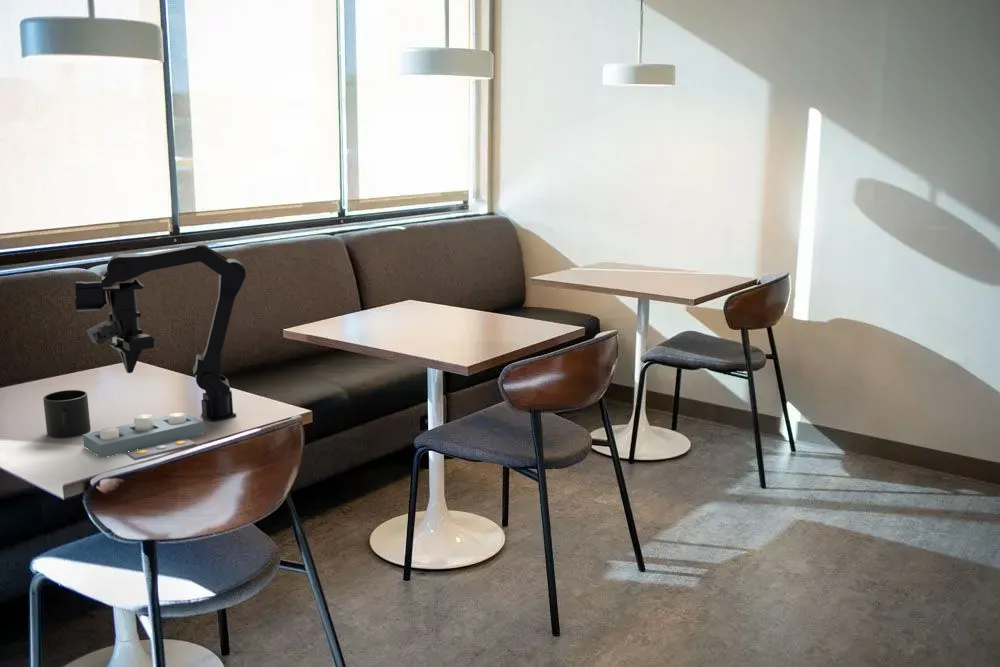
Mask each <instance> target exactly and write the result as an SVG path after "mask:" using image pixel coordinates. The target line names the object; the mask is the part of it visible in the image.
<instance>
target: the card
mask: <svg viewBox="0 0 1000 667" xmlns="http://www.w3.org/2000/svg"><path fill="white" fill-rule="evenodd" d="M193 445H194V446H196V445H197V443H196V442H195V441H192V440H191V439H189V438H184V439H180V440H175V441H171V442H167V443H163V444H159V445H154V446H150V447H146V448H142V449H138V450H133V451H129V452H126V453H125V455H127V454H128V455H127V456H129V458H132V459H134V460H135V461H136V460H140V459H144V458H148V457H151V456H156V455H160V454H164V453H168V452H173V451H176V450H181V449H184V448H185V449H186V448H189V447H192V446H193Z"/></svg>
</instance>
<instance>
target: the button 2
mask: <svg viewBox="0 0 1000 667" xmlns="http://www.w3.org/2000/svg"><path fill="white" fill-rule="evenodd" d="M185 413H186V412H184V413H183V412H174V413H170V414H168V415H167V416H168V423H169V424H171V425H175V424H180V423H184V422H186V414H187V413H186V414H185Z"/></svg>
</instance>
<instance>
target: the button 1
mask: <svg viewBox="0 0 1000 667" xmlns="http://www.w3.org/2000/svg"><path fill="white" fill-rule="evenodd" d="M115 427H116V426H115ZM115 427H113V426H112V427H104V428H101V429H100V430H98V431H99V433H100V440H102V441H104V440H109V439H113V438H118V437H119V429H118V428H115Z"/></svg>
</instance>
